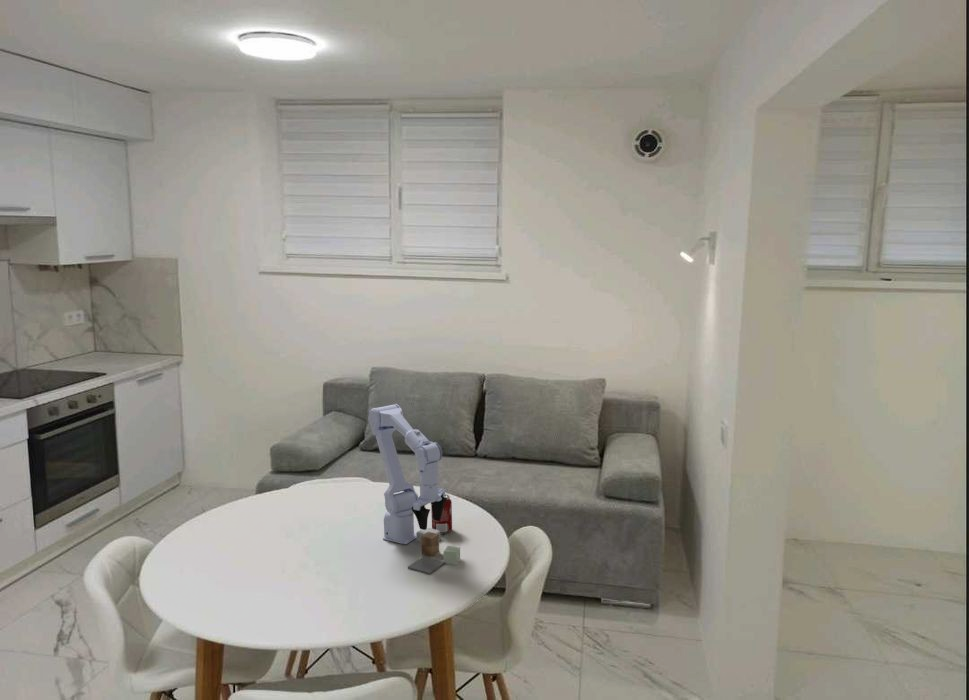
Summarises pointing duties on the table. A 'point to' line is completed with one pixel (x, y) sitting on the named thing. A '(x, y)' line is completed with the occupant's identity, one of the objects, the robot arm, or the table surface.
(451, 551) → the sage block
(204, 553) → the table surface
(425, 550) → the walnut block
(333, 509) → the table surface
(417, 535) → the grey plastic box
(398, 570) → the table surface
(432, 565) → the slate coaster
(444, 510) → the soda can
